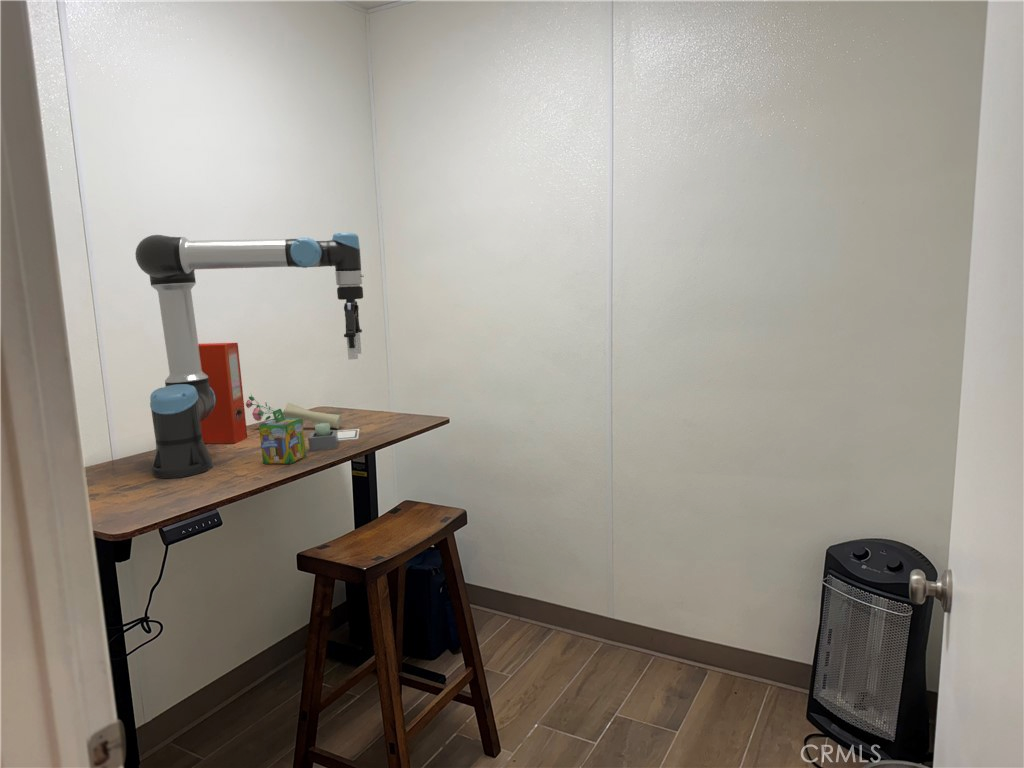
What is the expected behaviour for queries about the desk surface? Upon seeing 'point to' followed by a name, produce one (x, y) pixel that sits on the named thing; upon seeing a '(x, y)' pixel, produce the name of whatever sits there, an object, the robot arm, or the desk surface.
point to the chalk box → (282, 440)
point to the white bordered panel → (348, 434)
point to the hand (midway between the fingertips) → (355, 356)
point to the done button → (322, 429)
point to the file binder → (223, 393)
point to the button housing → (323, 441)
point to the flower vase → (298, 414)
